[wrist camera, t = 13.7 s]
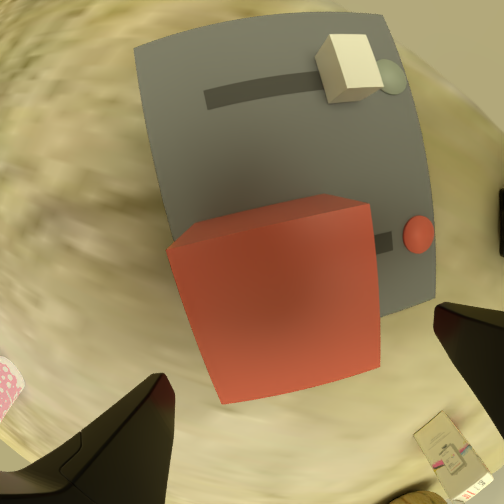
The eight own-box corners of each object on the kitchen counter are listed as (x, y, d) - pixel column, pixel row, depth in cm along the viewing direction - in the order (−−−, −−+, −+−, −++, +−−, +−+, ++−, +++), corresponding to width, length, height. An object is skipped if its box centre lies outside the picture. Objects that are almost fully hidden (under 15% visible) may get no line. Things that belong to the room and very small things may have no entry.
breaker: (346, 55, 13) (366, 34, 10) (360, 100, 14) (383, 86, 11) (314, 57, 13) (329, 34, 10) (328, 103, 14) (347, 88, 11)
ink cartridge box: (458, 426, 26) (504, 493, 11) (431, 448, 26) (471, 518, 12) (443, 408, 24) (501, 490, 10) (411, 434, 25) (458, 521, 10)
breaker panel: (368, 29, 15) (384, 13, 12) (418, 285, 20) (437, 299, 17) (145, 62, 15) (131, 46, 12) (214, 338, 20) (211, 360, 17)
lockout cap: (324, 193, 15) (369, 203, 9) (341, 310, 17) (380, 366, 11) (194, 222, 15) (165, 249, 10) (227, 337, 17) (221, 404, 11)
